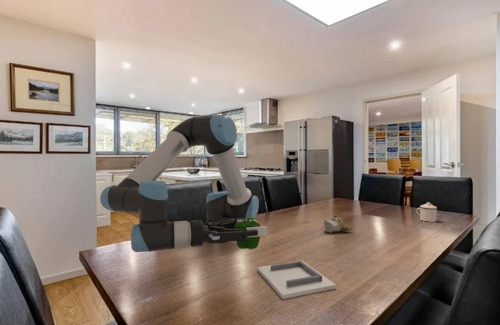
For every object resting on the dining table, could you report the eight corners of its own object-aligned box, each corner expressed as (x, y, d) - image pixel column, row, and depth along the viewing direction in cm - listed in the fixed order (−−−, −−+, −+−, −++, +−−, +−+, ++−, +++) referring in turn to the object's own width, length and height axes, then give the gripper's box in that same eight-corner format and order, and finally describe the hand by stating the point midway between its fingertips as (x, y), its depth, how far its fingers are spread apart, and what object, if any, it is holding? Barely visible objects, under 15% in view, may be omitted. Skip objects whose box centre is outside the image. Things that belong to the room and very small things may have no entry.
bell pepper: (231, 244, 85) (231, 214, 85) (254, 242, 88) (254, 212, 88) (239, 253, 77) (238, 219, 77) (264, 250, 80) (264, 217, 80)
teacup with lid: (440, 221, 163) (440, 203, 163) (431, 223, 160) (431, 204, 160) (421, 217, 174) (421, 200, 174) (412, 219, 171) (412, 201, 171)
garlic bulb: (318, 214, 144) (339, 213, 150) (317, 230, 144) (338, 228, 150) (332, 218, 135) (354, 217, 141) (331, 235, 135) (353, 233, 141)
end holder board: (257, 270, 93) (257, 263, 93) (302, 263, 99) (302, 256, 99) (282, 299, 74) (282, 289, 74) (335, 288, 80) (335, 279, 80)
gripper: (186, 236, 87) (250, 230, 94) (193, 259, 67) (274, 249, 74) (186, 213, 87) (250, 209, 94) (193, 230, 67) (274, 223, 74)
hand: (261, 227), depth 84 cm, fingers closed on bell pepper, 8 cm apart
